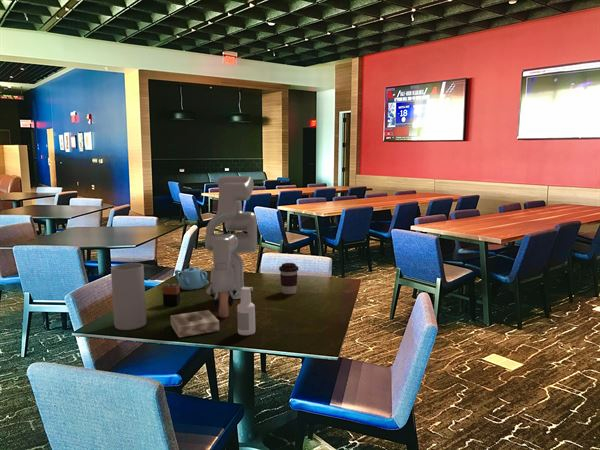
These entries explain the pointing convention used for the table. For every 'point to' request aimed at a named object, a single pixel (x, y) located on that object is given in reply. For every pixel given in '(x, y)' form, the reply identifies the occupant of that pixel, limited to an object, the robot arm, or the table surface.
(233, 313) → the table surface
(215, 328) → the socket block
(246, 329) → the spray bottle
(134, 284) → the cylinder vase
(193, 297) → the table surface
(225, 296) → the peg
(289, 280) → the coffee cup
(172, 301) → the battery
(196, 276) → the teapot
